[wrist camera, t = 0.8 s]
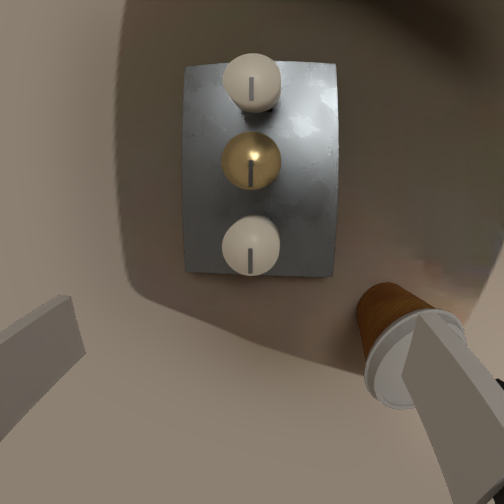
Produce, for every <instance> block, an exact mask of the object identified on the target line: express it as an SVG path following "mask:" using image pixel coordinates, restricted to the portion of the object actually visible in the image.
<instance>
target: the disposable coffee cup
mask: <svg viewBox="0 0 504 504" xmlns="http://www.w3.org/2000/svg"><path fill="white" fill-rule="evenodd" d="M425 312H436V313H437V314H438V315H439V316H440V317H441V318H442V319H443V320H444V321H445V322H446V323H447V324H448V325H449V327H450V328H451V329H452V330H453V331H454V332H455V333H456V334H457V335H458V336H459V338H460V339H461V340H462V341H463V342H464V343H465V344H466V345H467V341H466V337H465V333H464V328H463V326H462V324H461V322H460V321H459V319H458V318H457V317H456V316H454V315H453V314H452V313H450V312H448V311H445V310H442V309H436V308H434V307H432V306H431V305H429V304H427V303H426V302H424V301H423V300H421V299H420V298H418V297H416V296H415V295H413V294H411V293H410V292H408V291H406V290H405V289H403V288H402V287H400V286H399V285H397V284H394V283H389V282H386V283H380V284H377V285H375V286H373V287H371V288H370V289H369V290H367V291H366V292H365V294H364V295H363V296H362V298H361V299H360V301H359V303H358V307H357V319H358V323H359V328H360V333H361V338H362V343H363V349H364V354H365V359H366V365H365V370H364V379H365V384H366V387H367V389H368V391H369V392H370V394H371V395H372V396H373V397H374V398H376V399H377V400H378V401H380V402H381V403H383V404H384V405H385V406H387V407H389V408H392V409H398V410H404V409H413V408H416V407H415V405H414V403H413V400H412V398H411V396H410V394H409V392H408V390H407V388H406V385H405V383H404V381H403V379H402V377H401V374H402V371H403V368H404V365H405V361H406V358H407V355H408V351H409V347H410V344H411V340H412V336H413V332H414V328H415V324H416V320H417V315H418V313H425Z"/></svg>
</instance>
